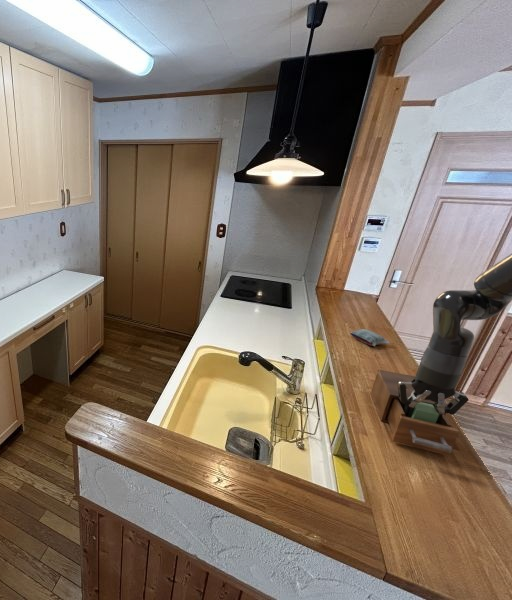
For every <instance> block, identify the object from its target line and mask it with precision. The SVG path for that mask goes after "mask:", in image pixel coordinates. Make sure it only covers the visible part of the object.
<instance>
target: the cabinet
mask: <svg viewBox="0 0 512 600" xmlns="http://www.w3.org/2000/svg"><path fill="white" fill-rule="evenodd" d="M376 372H377V373H376V375H375V379H374V382H373V385H372V388H371V392H370V396H371V399H372V402H373V401H374V402H373V405H374V407H375V410H376V412H377V415H378V417H379V420H380V422H383V423H387V424H389V422H388V419H387V417H386V415H387V412H388V409H389V406H390V403H391V400H392V397H393V398H398V399H399V395H398V382H397V381H398V380H402V381H403V382H411V381H412V380H413V379H414V378H415V376H416V375H409V374H405V373H398V372H394V371H388V370H383V369H378V370H377V371H376ZM413 391H414V388H413V387H410V388H409V390H408V391H407V390H406V395H407V398H409V397H410V396H411V393H412V392H413ZM422 402H423V403H427V404H432V405H433V406H434V407H435V402H433V401H431V400H423V401H422ZM447 404H448V403H446V402H445V406H446V405H447ZM446 414H447V413H445V414H444V415H445V416H446Z"/></svg>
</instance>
